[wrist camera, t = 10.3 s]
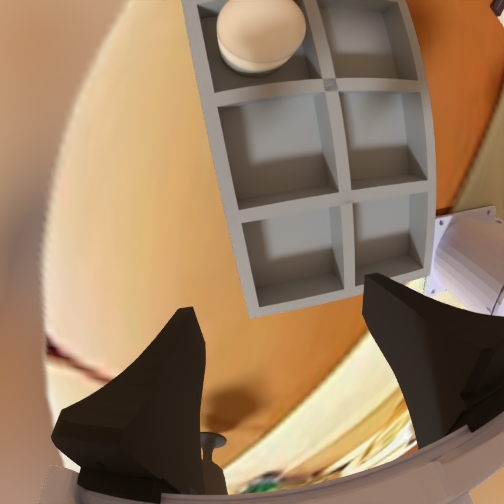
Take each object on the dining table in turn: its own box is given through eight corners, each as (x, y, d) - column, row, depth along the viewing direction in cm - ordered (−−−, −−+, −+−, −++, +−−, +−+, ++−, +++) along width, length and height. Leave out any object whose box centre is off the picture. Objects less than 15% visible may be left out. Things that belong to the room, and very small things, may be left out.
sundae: (223, 426, 30) (225, 535, 16) (238, 447, 33) (243, 539, 19) (175, 430, 30) (166, 532, 16) (194, 451, 33) (191, 539, 19)
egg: (280, 16, 13) (303, -27, 8) (295, 73, 15) (326, 48, 9) (213, 25, 13) (206, -19, 8) (226, 83, 15) (225, 59, 9)
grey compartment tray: (384, 7, 13) (403, -5, 10) (411, 258, 22) (429, 275, 19) (188, 15, 13) (181, -3, 10) (247, 295, 22) (249, 318, 19)
